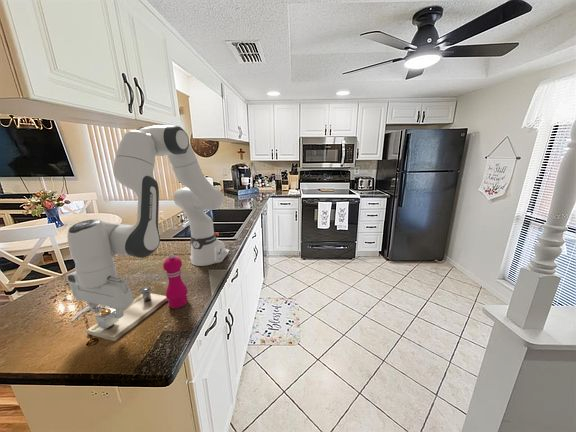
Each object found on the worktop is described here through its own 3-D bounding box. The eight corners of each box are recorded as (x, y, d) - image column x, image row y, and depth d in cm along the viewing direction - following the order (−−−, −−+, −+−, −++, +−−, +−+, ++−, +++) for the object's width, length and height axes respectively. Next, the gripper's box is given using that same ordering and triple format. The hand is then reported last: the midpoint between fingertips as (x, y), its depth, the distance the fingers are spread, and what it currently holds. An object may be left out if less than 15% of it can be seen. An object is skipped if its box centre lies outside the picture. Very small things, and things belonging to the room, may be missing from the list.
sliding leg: (112, 320, 73) (108, 306, 72) (119, 322, 72) (115, 307, 71) (99, 329, 69) (95, 314, 68) (106, 331, 69) (102, 316, 67)
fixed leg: (147, 297, 86) (145, 286, 85) (154, 298, 85) (152, 287, 84) (140, 302, 83) (138, 290, 82) (147, 303, 82) (145, 292, 81)
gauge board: (145, 295, 90) (145, 291, 89) (168, 299, 87) (167, 295, 86) (87, 334, 70) (86, 329, 70) (114, 341, 67) (113, 336, 67)
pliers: (69, 319, 75) (90, 294, 89) (70, 323, 75) (91, 297, 89) (105, 312, 78) (120, 289, 92) (106, 316, 78) (121, 292, 92)
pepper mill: (166, 301, 86) (158, 253, 81) (186, 295, 90) (179, 248, 85) (169, 311, 80) (161, 260, 75) (190, 304, 84) (184, 254, 79)
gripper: (135, 273, 67) (143, 313, 70) (85, 265, 72) (95, 302, 76) (114, 285, 61) (124, 327, 65) (61, 275, 66) (73, 315, 70)
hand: (108, 314), depth 70 cm, fingers open, 8 cm apart
